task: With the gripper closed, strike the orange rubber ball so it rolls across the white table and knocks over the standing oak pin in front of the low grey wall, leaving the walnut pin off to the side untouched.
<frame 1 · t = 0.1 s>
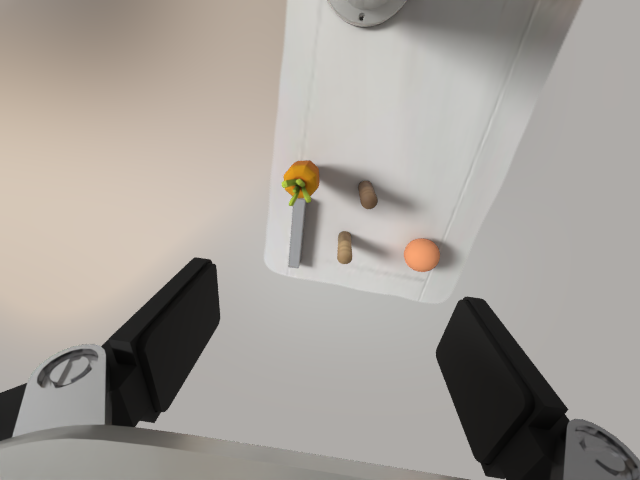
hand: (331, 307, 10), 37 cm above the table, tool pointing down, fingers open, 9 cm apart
walnut pin: (365, 187, 44), on the table
oak pin: (344, 236, 49), on the table
carrot: (309, 167, 44), on the table
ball: (421, 255, 46), on the table
back wall: (298, 230, 49), on the table
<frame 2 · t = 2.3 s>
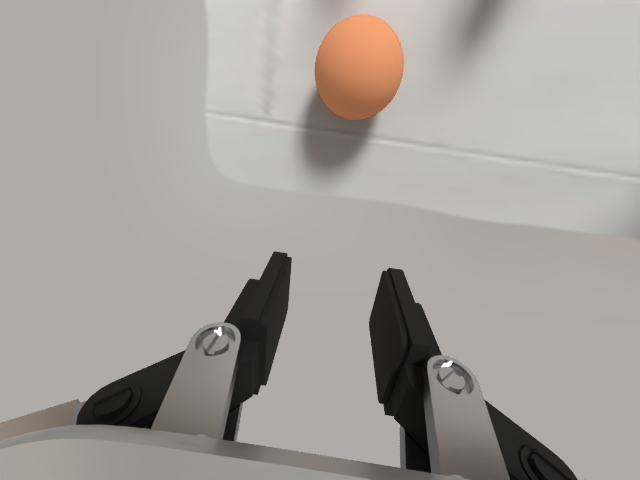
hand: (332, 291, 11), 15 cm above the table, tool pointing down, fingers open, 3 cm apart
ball: (358, 72, 18), on the table
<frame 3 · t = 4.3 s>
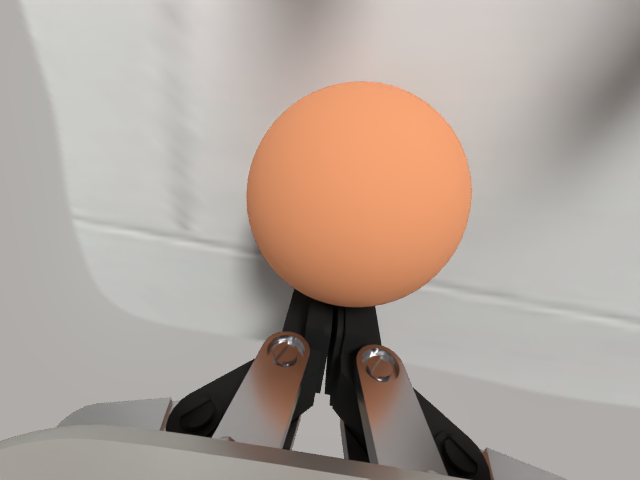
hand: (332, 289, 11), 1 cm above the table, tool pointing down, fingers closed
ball: (352, 201, 7), on the table, touching gripper
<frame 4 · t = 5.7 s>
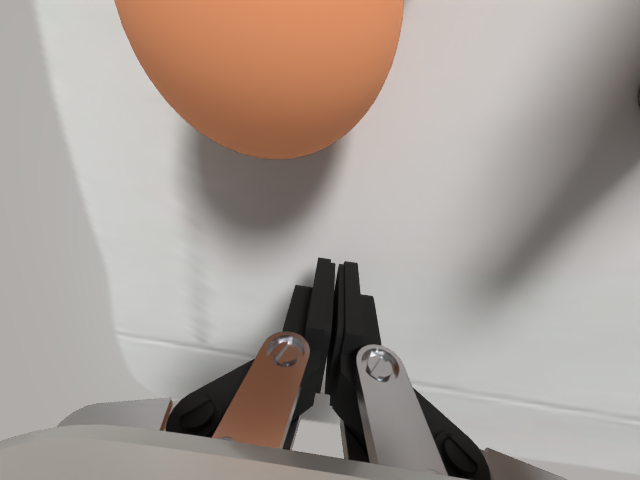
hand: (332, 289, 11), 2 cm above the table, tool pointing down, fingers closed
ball: (270, 26, 6), on the table
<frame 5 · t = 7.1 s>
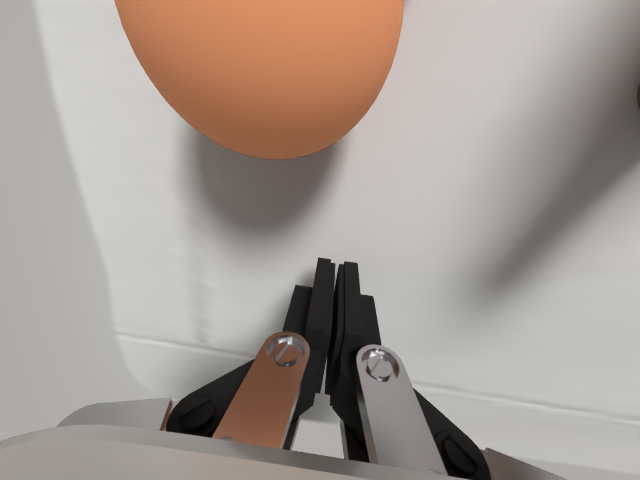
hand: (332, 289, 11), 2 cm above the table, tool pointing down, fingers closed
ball: (270, 26, 6), on the table
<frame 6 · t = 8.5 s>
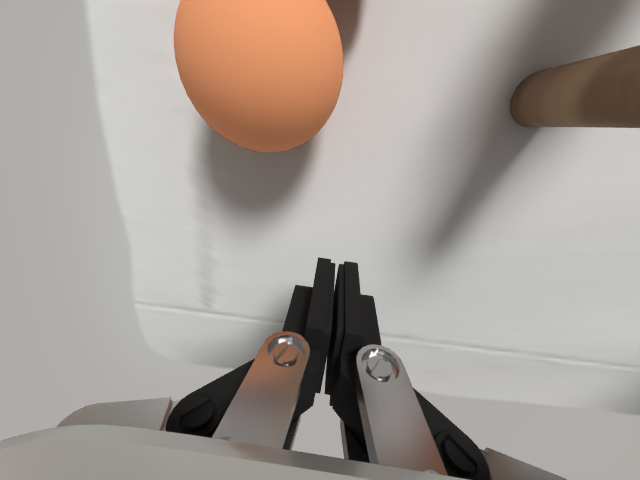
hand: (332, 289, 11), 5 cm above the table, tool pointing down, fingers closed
walnut pin: (537, 99, 12), on the table
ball: (264, 69, 10), on the table
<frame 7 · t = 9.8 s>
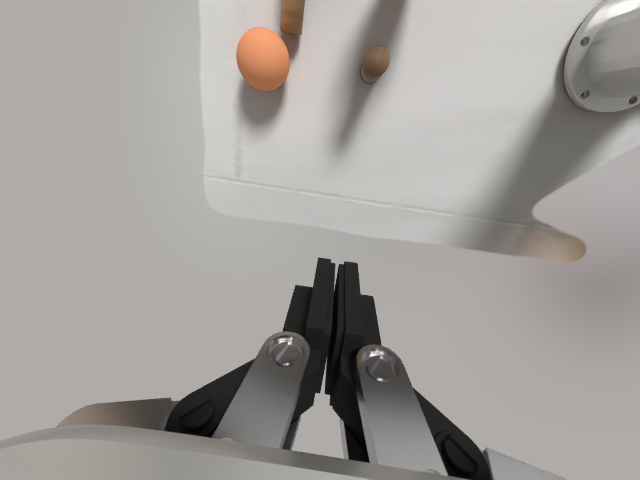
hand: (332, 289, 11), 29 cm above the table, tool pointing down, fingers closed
walnut pin: (370, 72, 32), on the table
oak pin: (291, 31, 30), point 1 cm above the table, tilted 70°, touching back wall
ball: (263, 61, 30), on the table
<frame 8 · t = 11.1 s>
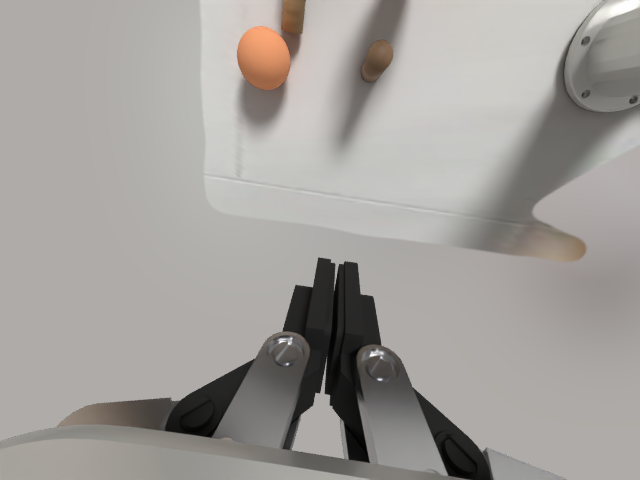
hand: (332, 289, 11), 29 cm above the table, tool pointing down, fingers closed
walnut pin: (370, 71, 32), on the table
oak pin: (292, 30, 30), point 1 cm above the table, tilted 70°, touching back wall
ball: (264, 60, 30), on the table
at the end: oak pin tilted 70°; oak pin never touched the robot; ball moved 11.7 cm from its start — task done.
